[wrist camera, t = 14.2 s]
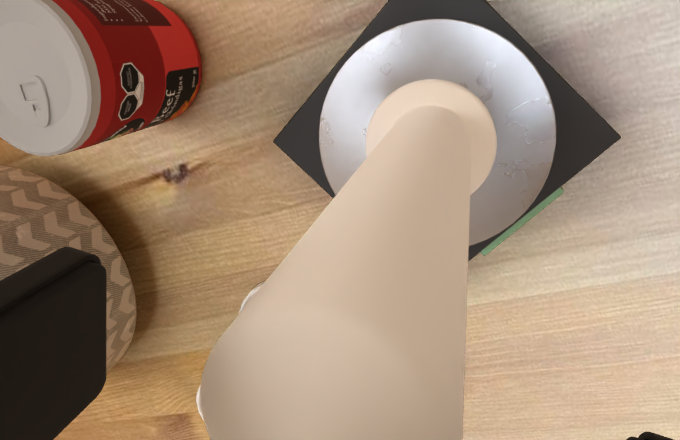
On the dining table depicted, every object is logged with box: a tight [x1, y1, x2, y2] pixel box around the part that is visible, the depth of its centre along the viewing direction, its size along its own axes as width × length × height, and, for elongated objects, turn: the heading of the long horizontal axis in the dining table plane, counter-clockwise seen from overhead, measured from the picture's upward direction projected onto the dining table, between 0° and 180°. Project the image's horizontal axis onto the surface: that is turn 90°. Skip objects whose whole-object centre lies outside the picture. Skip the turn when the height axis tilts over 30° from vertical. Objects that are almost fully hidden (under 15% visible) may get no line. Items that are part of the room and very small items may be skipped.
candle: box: [200, 79, 497, 440], centre depth 17 cm, size 7×7×25 cm
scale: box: [273, 0, 621, 261], centre depth 29 cm, size 14×14×4 cm
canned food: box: [0, 0, 202, 156], centre depth 29 cm, size 8×8×11 cm
